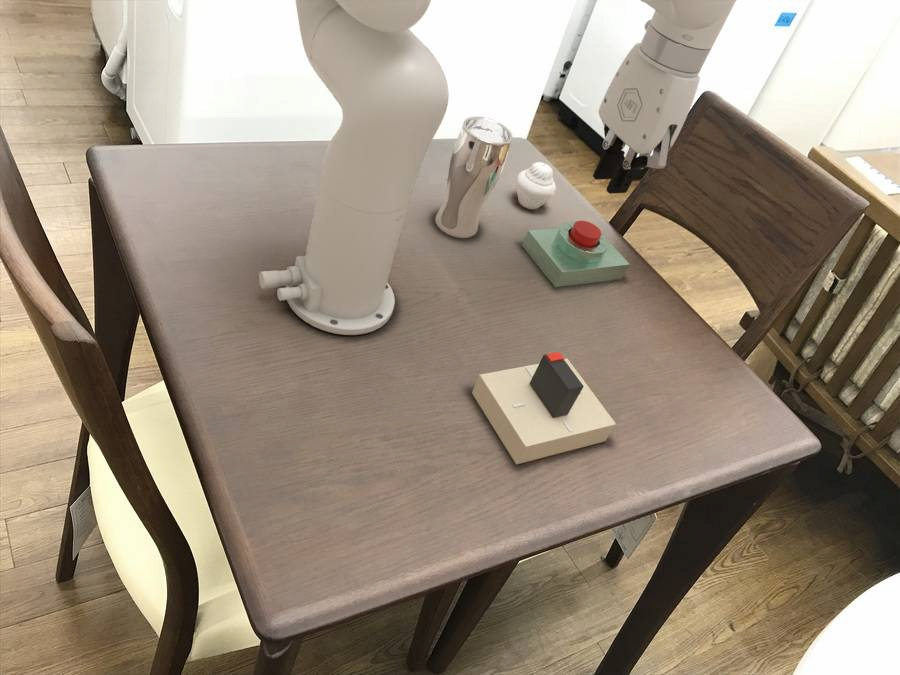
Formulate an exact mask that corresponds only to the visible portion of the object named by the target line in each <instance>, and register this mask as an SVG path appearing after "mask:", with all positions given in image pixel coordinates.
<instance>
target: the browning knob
mask: <svg viewBox="0 0 900 675" xmlns="http://www.w3.org/2000/svg"><path fill="white" fill-rule="evenodd" d="M564 359H565V358H564V356H563V354H561V352H560V351H557V352H551V353H545V354H543V355H542V358H541V359H540V361H539V363H538V364H539V365H538V367H537V369H536V371H535V373H534V375H533V377H532V379H531V381H530V385H531V387H532V388H533V389H534V391H535V392H536V394H537V395H538V397H539V398H540V400H541V401H542V403H543V404H544V406H545V407H546V409H547V410H548V411H549V413H550V414H551V416H552V417H553V418H555V417H559V416H564V415H568V413H569V411H570V410H571V408H572V406H573V404H574V403H575V401H576V399H577V397H578V396H579V394H580V392H581V390H582V389H583V387H584V386H583V385H582V383H581V382H580V380H579V379H578V378H577V376H576V375H575V374H574V372H573V371H572V370H571V368H570V367H569V366H568V364H567V363H566V361H565V360H564Z"/></svg>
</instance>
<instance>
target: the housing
mask: <svg viewBox="0 0 900 675" xmlns="http://www.w3.org/2000/svg"><path fill="white" fill-rule="evenodd" d="M575 222H576V221H567V222H565V223H564V224H562V225H561V226H560V227H556V228H554V227H553V228H539V229H529V230H527V232H526V235H525V237H524V239H523V242H522V245H521V247H522V248H523V249H524V250H525V252H526V253H527V254H528V255H529V257H530V258H531V259H532V260H533V262H534V263H535V264H536V265H537V267H538V268H539V269H540V270H541V272H542V273H543V274H544V276H546V278H547V279H548V280H549V282H550V283H551V284H552V285H553V286H554V288H560V287H569V286H574V285H576V286H577V285H583V284H591V283H592V284H593V283H599V282H608V281H617V280H622V279H623V278H624V276H625V274H626V272H627V270H628V269H629V267H630V262H628V261H627V260H626V259H625V257H624V256H623V255H622V254H621V252H619V251H618V250H617V248H616V247H615V246H614V245H613V244H612V243H611V242H610V241H609V239H608V238H607V237H606V236H605V235H604V234H603V233H602V232H601V237H600V239H599V241H598V243H597V245H596V246H595V247H593V248H588V247H585V246H581V245H579V244H578V243H576V242H574V241H573V240H572V239H571V238H570V232H571V230H572V228H573V225H574V223H575Z"/></svg>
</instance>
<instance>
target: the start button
mask: <svg viewBox="0 0 900 675" xmlns="http://www.w3.org/2000/svg"><path fill="white" fill-rule="evenodd" d="M574 222H575V223H574V225H573V228H572V230H571V232H570V238H571V239H572V240H573V241H574V242H576V243H578V244H579V245H581V246H585V247H588V248H593V247H595V246H596V245H597V243H598V241H599V239H600V237H601V233H602V231H601V229H600V228H599V227H598V226H597V225H596V224H594V223H592V222H591V221H586V220H576V221H574Z"/></svg>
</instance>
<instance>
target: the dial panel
mask: <svg viewBox="0 0 900 675" xmlns="http://www.w3.org/2000/svg"><path fill="white" fill-rule="evenodd" d="M564 360H565V361H566V363H567V364H568V366H569V367H570V368H571V370H572V371H573V372H574V374H575V375H576V376H577V378H578V379H579V380H580V382H581V383H582V385H583V386H584V387H583V389H582V390H581V392H580V394H579V396H578V397H577V399H576V401H575V403H574V404H573V406H572V408H571V410H570V411H569V413H568V415H564V416H559V417H555V418H553V417H552V416H551V414H550V413H549V411H548V410H547V409H546V407H545V406H544V404H543V403H542V401H541V400H540V398H539V397H538V395H537V394H536V392H535V391H534V389H533V388H532V387H531V385H530V381H531V379H532V377H533V375H534V373H535V371H536V369H537V367H538V365H539V363H535V364H529V365H525V366H524V365H523V366H519V367H514V368H508V369H502V370H498V371H491V372H486V373H481V374H479V376H478V378H477V380H476V382H475V385H474V387H473V389H472V392H471V394H472V396H473V397H474V399H475V401H476V402H477V404H478V406H479V407H480V409H481V411H482V412H483V413H484V415H485V417H486V419H487V420H488V421H489V424H490V425H491V427H492V428H493V430H494V431H495V433H496V434H497V436H498V438H499V439H500V441H501V443H502V444H503V446H504V448H505V449H506V450H507V452H508V454H509V455H510V457H511V459H512V461H513V463H514V464H515V465H520V464H524V463H528V462H531V461H536V460H539V459H543V458H546V457H551V456H554V455H559V454H562V453H566V452H570V451H575V450H577V449H581V448H584V447H585V448H586V447H589V446H593V445H597V444H601V443H603V442H606V441H607V439H608V438H609V436H610V435H611V433H612V431H613V430H614V429H615V427H616V426H617V423H616V422H615V421H614V419H613V418H612V416H611V415H610V414H609V413H608V411H607V410H606V408H605V407H604V405H603V404H602V403H601V402H600V400H599V399H598V398H597V396H596V395H595V394H594V392H593V391H592V389H591V388H590V386H588V384H587V383H586V381H585V380H584V378H583V377H582V376H581V375H580V373H579V372H578V370H577V369H576V368H575V367H574V366H573V364H572V362H571V361H570V359H568V358H564Z"/></svg>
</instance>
